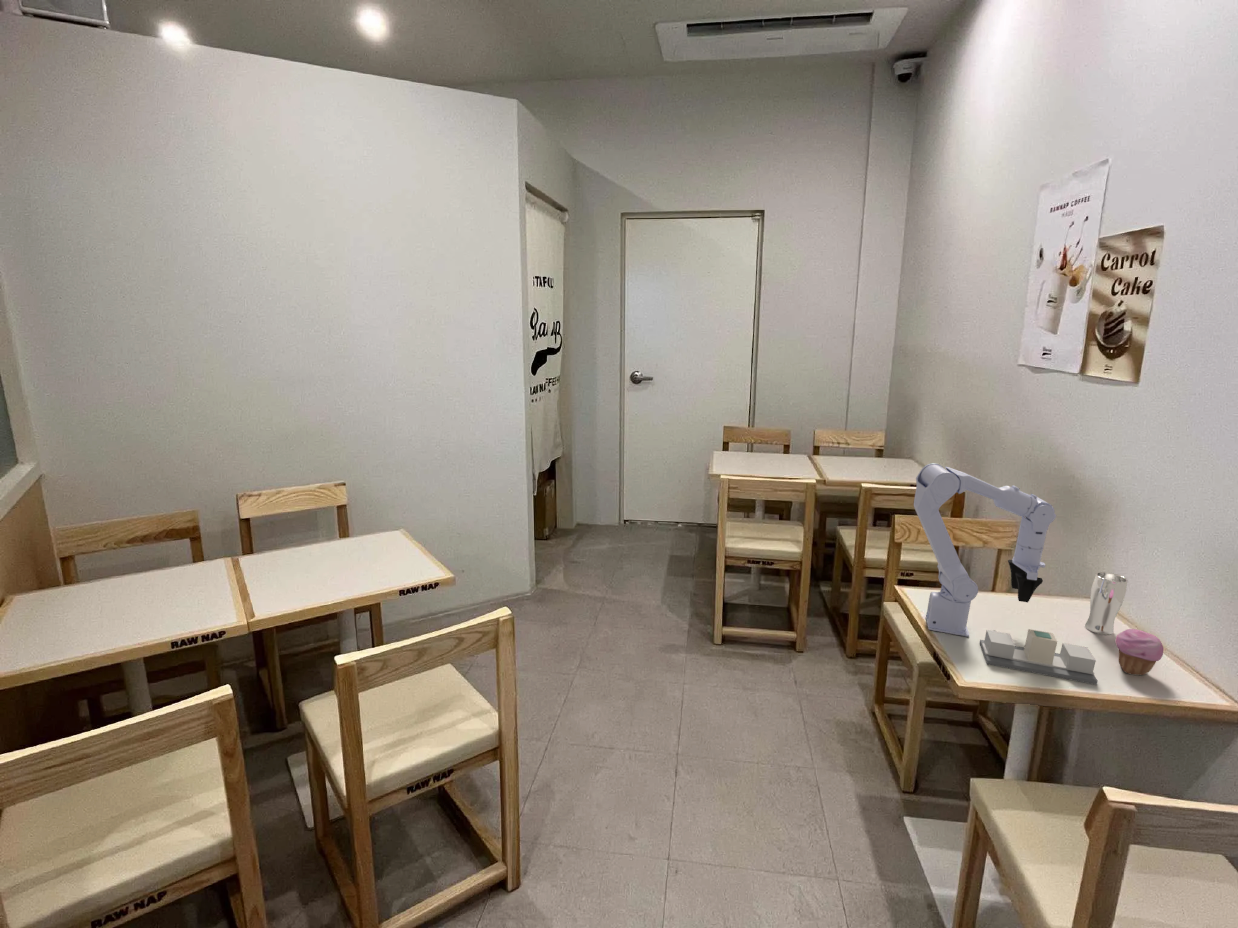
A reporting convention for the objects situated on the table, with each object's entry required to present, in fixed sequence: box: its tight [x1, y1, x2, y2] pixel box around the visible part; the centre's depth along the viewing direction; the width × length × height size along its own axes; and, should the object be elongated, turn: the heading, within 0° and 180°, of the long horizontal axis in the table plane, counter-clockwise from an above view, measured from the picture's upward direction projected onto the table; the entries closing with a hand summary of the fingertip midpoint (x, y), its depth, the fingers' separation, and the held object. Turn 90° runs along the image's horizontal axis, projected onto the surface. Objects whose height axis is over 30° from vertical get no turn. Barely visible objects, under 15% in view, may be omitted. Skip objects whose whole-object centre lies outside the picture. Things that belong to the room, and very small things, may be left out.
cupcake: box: [1114, 628, 1164, 676], centre depth 150 cm, size 9×9×10 cm
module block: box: [1023, 628, 1058, 664], centre depth 152 cm, size 5×4×6 cm
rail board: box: [979, 629, 1099, 686], centre depth 153 cm, size 22×10×5 cm, turn 70°
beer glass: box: [1084, 571, 1129, 636], centre depth 168 cm, size 7×7×15 cm
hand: (1019, 594), depth 165 cm, fingers open, 7 cm apart
